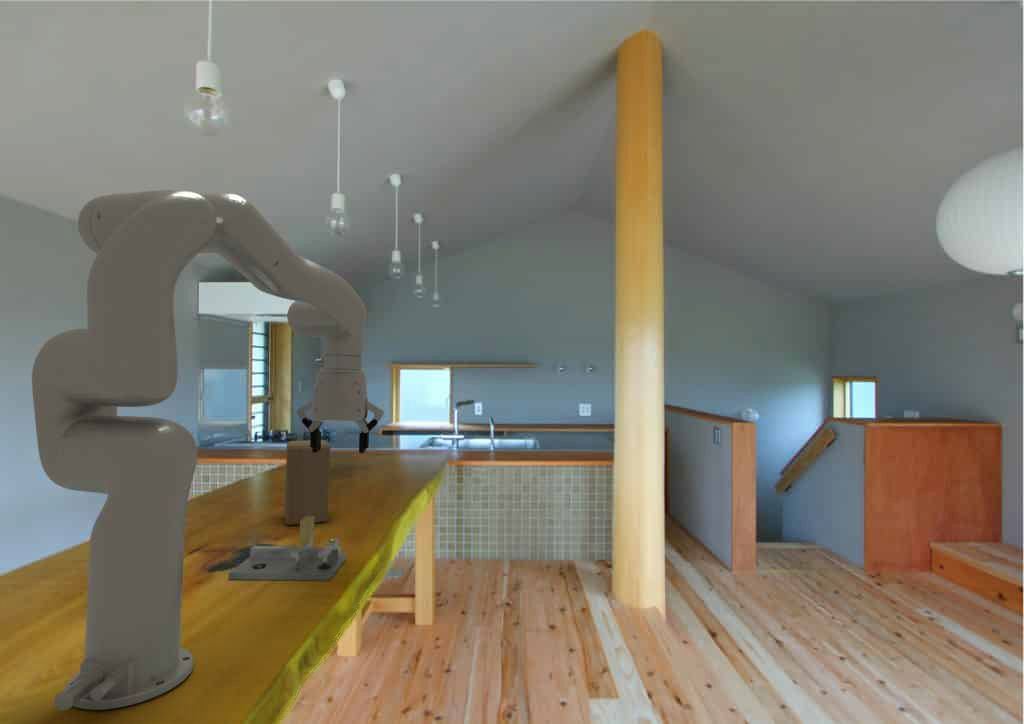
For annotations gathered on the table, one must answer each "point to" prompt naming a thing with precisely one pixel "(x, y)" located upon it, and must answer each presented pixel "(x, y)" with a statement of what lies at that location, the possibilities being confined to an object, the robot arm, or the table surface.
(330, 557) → the bolt plate
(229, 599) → the table surface
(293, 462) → the wooden block
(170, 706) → the table surface
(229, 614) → the table surface
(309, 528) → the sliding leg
